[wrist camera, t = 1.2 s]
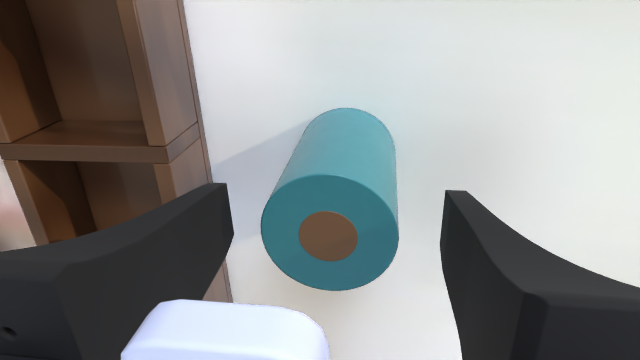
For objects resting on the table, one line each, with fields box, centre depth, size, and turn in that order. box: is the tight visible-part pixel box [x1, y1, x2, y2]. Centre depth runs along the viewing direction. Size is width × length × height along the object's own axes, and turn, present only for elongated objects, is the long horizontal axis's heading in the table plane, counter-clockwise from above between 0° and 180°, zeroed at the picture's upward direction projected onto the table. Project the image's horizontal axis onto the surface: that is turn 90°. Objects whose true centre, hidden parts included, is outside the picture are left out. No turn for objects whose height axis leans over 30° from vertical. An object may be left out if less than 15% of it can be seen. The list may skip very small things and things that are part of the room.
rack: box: [0, 0, 233, 303], centre depth 19 cm, size 20×7×4 cm, turn 2°
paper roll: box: [261, 108, 399, 291], centre depth 16 cm, size 4×4×6 cm
